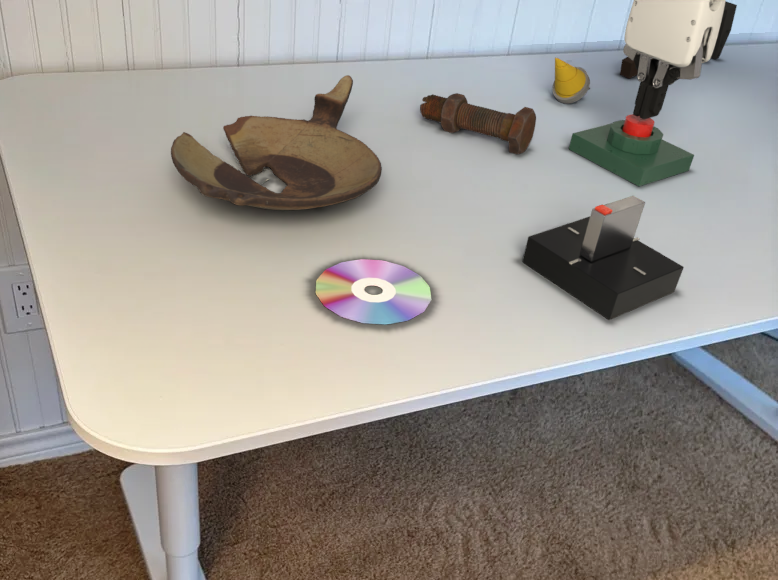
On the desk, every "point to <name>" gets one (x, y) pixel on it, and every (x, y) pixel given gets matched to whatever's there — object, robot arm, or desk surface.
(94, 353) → the desk surface
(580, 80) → the yellow spiral cone
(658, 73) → the robot arm
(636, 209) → the gray slab
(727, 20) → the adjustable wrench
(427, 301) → the cd
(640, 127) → the release button
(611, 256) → the black lever switch box
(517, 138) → the bolt
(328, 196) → the broken bowl
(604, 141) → the release box
